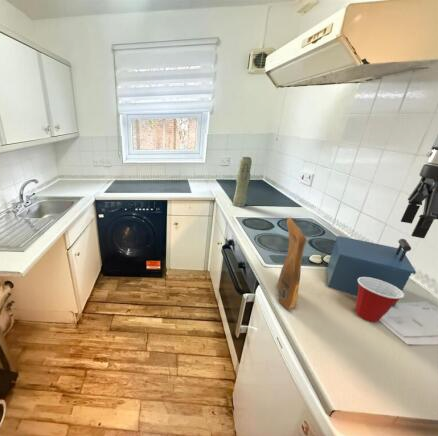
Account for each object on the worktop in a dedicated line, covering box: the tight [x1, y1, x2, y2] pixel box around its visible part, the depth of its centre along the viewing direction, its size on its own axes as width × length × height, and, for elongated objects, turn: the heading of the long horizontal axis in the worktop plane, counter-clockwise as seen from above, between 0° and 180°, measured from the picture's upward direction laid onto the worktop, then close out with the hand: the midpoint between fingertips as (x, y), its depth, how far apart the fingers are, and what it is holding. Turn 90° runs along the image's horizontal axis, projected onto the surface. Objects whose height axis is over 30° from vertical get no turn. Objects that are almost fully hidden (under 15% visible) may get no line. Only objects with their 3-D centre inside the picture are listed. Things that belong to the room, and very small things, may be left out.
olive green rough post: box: [232, 156, 253, 208], centre depth 171 cm, size 9×12×35 cm
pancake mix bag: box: [277, 216, 308, 312], centre depth 81 cm, size 7×19×28 cm, turn 156°
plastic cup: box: [355, 277, 406, 323], centre depth 76 cm, size 11×11×12 cm
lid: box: [336, 235, 417, 275], centre depth 86 cm, size 19×18×7 cm
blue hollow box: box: [326, 238, 412, 308], centre depth 90 cm, size 19×18×14 cm
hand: (411, 229), depth 79 cm, fingers open, 13 cm apart
